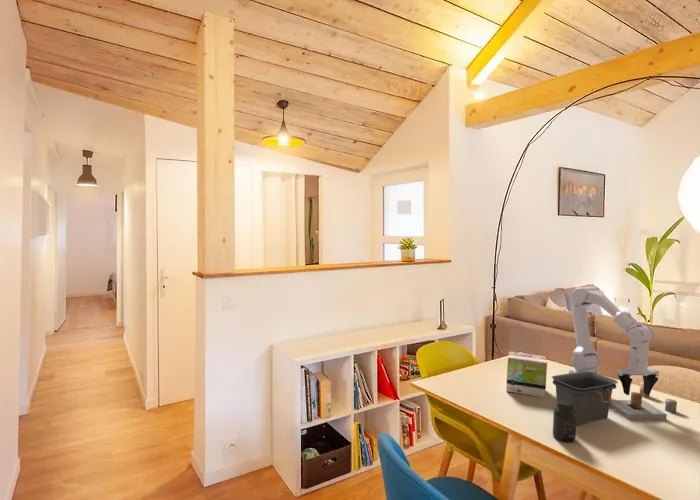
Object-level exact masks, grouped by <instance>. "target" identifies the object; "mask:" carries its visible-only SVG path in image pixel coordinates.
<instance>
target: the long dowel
mask: <svg viewBox="0 0 700 500" xmlns="http://www.w3.org/2000/svg"><path fill="white" fill-rule="evenodd" d="M630 392H631V393H630V400H631V405H630V407H631V408H632V409H634V410H641V406H642V400H643V397H642V394H640V392H637V391H630Z"/></svg>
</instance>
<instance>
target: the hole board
mask: <svg viewBox="0 0 700 500" xmlns="http://www.w3.org/2000/svg"><path fill="white" fill-rule="evenodd" d="M630 405H631V399H630V400H629V399H628V400H627V399H618V400H616V399H611V401H610V407H609V408H611V409H612V410H614V411H615V412H617V414H619V415H621V416H622V417H624V418H625V419H626V420H627V421H628V420H638V421H639V420H646V421H647V420H648V421H649V420H652V421H653V420H654V421H655V420H665V421H666V420H667V415H668V414H667V413H665V412H664V411H662V410H660V409H659V408H657V407H656V406H654V405H652V404H650V403H649V402H647V401H645V400H644V399H642V406H641V410H634V409H632V408H631V407H630Z"/></svg>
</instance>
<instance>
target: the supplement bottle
mask: <svg viewBox="0 0 700 500" xmlns="http://www.w3.org/2000/svg"><path fill="white" fill-rule="evenodd" d="M557 407H558V408H557ZM573 410H574V404H573V403H572V402H570V401H568V400H558V402H557V401H556V407H555V409H553V417H552V418H553V420H552V436H553V437H554V439H556V440H558V441H560V442H561V443H562V442H563V443H573V442H575V441H576V439H577V437H576V436H577V425H576V422H577V415H576V413H575V412H574V411H573Z"/></svg>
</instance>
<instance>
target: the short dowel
mask: <svg viewBox="0 0 700 500" xmlns="http://www.w3.org/2000/svg"><path fill="white" fill-rule="evenodd" d="M664 406H665V407H664V411H665V412H667V413H670V414H677V407H678V401H676V400H675V399H672V398H666V399H665V404H664Z"/></svg>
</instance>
